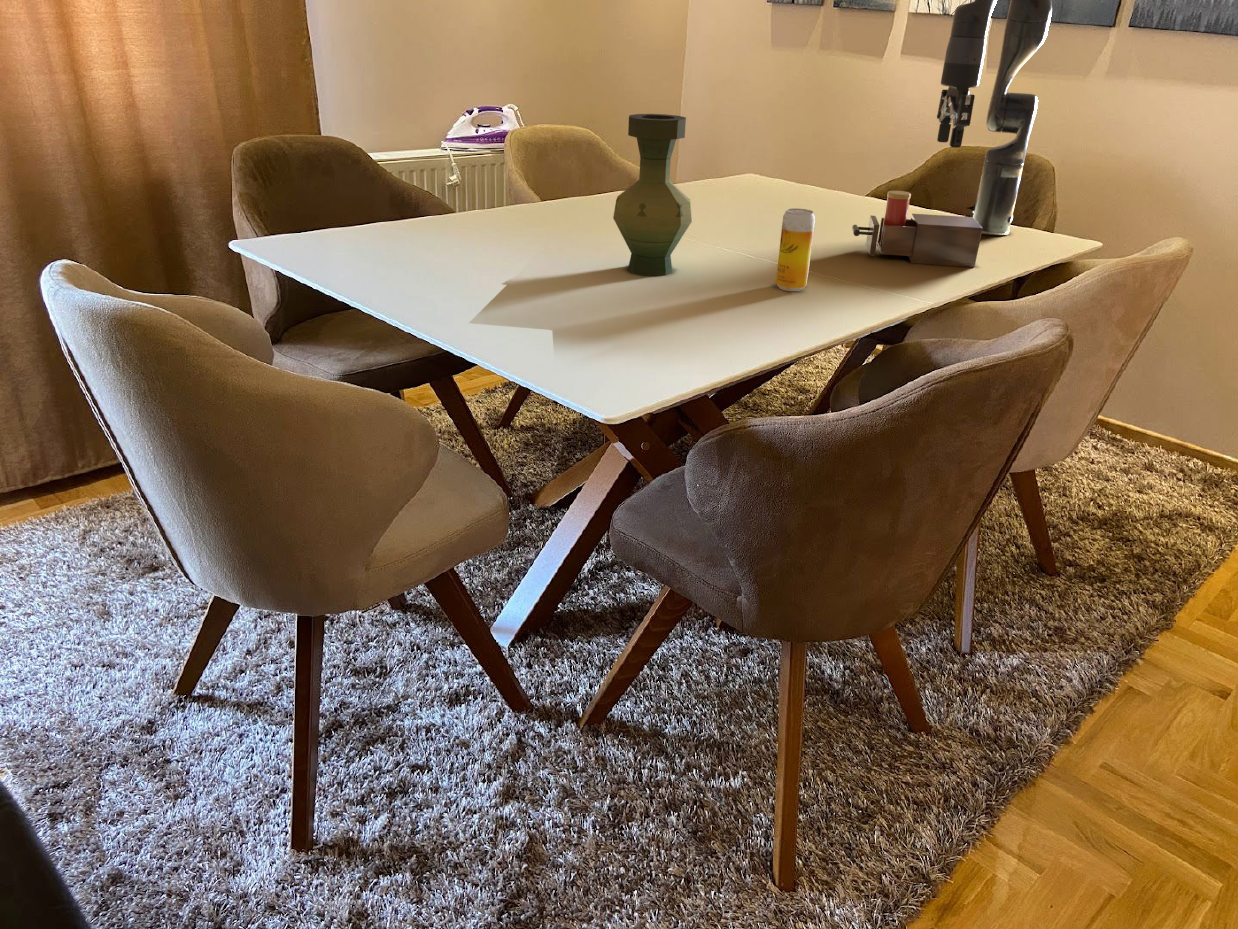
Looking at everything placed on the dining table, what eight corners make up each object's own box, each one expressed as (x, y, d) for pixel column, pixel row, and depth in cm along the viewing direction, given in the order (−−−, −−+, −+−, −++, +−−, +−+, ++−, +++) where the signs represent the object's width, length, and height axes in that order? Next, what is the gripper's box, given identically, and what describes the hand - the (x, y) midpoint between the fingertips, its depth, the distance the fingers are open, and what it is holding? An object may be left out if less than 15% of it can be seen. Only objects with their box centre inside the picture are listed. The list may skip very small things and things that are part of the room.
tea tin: (878, 243, 212) (886, 189, 207) (900, 244, 212) (909, 191, 206) (880, 248, 208) (889, 193, 202) (903, 249, 207) (912, 195, 202)
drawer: (851, 254, 207) (856, 223, 204) (848, 243, 216) (852, 214, 213) (926, 259, 205) (932, 228, 202) (920, 248, 214) (925, 218, 211)
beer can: (772, 283, 186) (780, 207, 179) (801, 283, 186) (810, 208, 180) (779, 291, 180) (788, 214, 174) (809, 292, 181) (819, 214, 174)
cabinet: (911, 262, 205) (918, 223, 201) (905, 250, 215) (911, 213, 211) (974, 267, 203) (982, 227, 199) (965, 254, 213) (972, 217, 210)
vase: (697, 265, 197) (708, 115, 183) (677, 283, 183) (687, 124, 170) (625, 256, 201) (630, 110, 188) (600, 274, 188) (603, 117, 174)
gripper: (994, 63, 182) (977, 149, 189) (970, 60, 195) (955, 140, 202) (956, 62, 182) (941, 148, 189) (935, 58, 195) (921, 139, 202)
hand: (948, 144), depth 196 cm, fingers open, 8 cm apart
